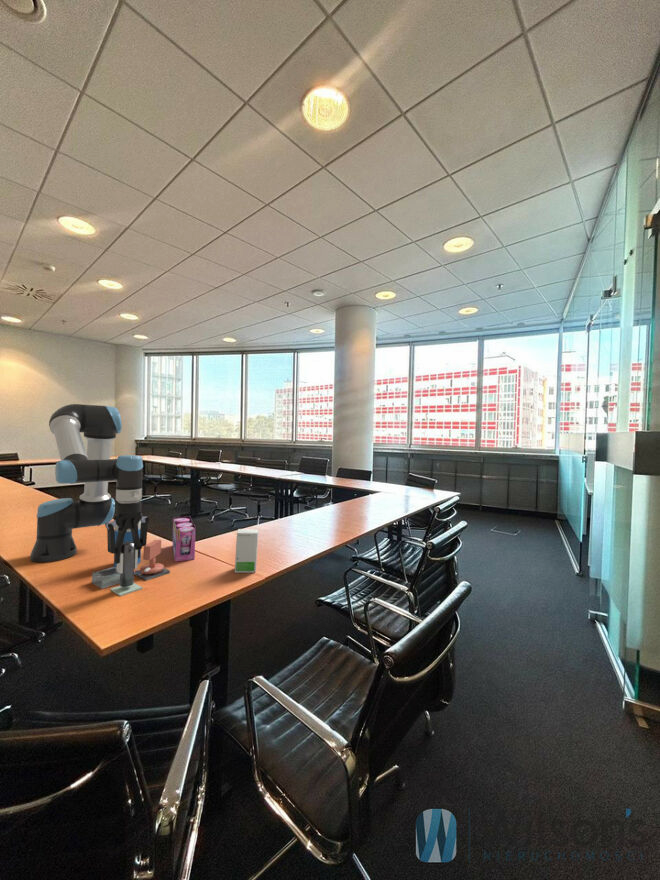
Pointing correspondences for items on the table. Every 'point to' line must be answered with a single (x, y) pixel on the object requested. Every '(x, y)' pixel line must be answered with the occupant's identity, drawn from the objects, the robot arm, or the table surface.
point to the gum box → (183, 538)
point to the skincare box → (246, 551)
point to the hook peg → (127, 564)
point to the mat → (125, 589)
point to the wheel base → (151, 576)
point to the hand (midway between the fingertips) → (127, 570)
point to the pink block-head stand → (152, 558)
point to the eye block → (106, 577)
